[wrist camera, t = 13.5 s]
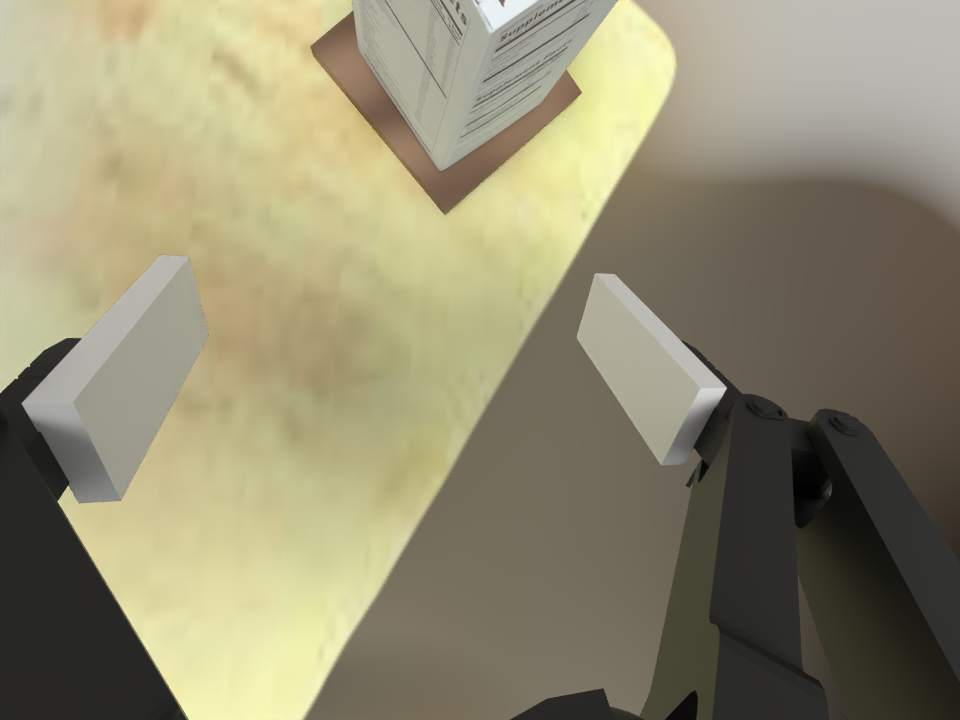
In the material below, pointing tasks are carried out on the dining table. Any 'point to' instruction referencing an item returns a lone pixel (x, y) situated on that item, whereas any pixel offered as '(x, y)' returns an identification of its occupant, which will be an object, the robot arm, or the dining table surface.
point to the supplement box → (470, 61)
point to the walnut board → (378, 109)
